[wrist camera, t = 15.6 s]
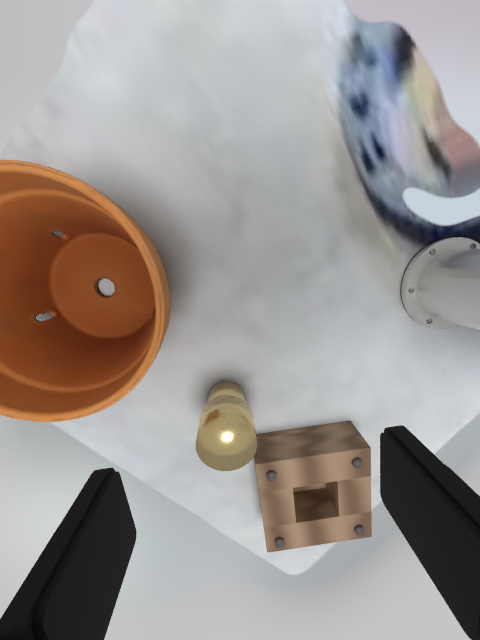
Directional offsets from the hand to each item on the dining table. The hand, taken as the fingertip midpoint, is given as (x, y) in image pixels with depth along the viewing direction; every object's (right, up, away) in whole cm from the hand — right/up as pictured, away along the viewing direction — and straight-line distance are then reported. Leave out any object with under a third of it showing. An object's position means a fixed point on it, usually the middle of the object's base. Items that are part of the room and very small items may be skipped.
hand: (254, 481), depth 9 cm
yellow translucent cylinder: (-3, -6, +31) cm, 31 cm away
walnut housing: (+10, -19, +34) cm, 41 cm away
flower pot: (-18, +10, +26) cm, 33 cm away
